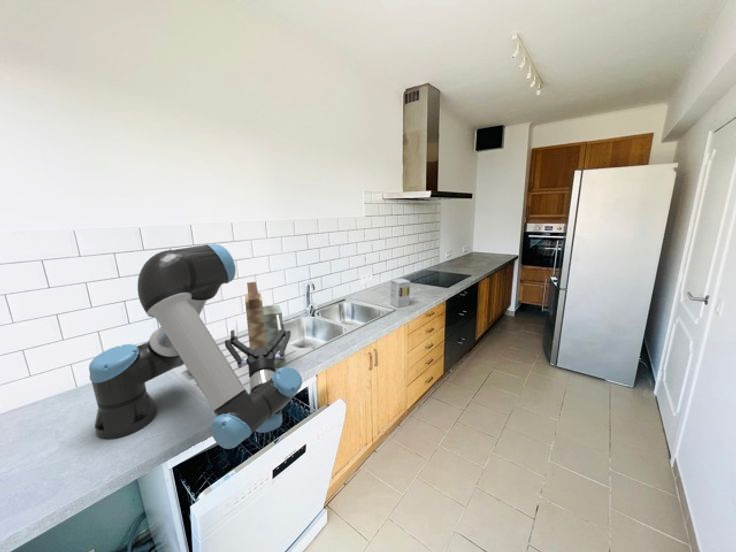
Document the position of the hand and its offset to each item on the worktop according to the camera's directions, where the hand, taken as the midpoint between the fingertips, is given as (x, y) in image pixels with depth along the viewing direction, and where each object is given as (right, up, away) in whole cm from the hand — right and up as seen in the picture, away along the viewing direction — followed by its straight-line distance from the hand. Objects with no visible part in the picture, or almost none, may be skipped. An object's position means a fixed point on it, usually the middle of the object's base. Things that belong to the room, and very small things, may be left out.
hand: (257, 319), depth 103 cm
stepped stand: (-5, -22, +23) cm, 33 cm away
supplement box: (+59, -4, +96) cm, 113 cm away
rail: (-6, +6, +14) cm, 16 cm away
